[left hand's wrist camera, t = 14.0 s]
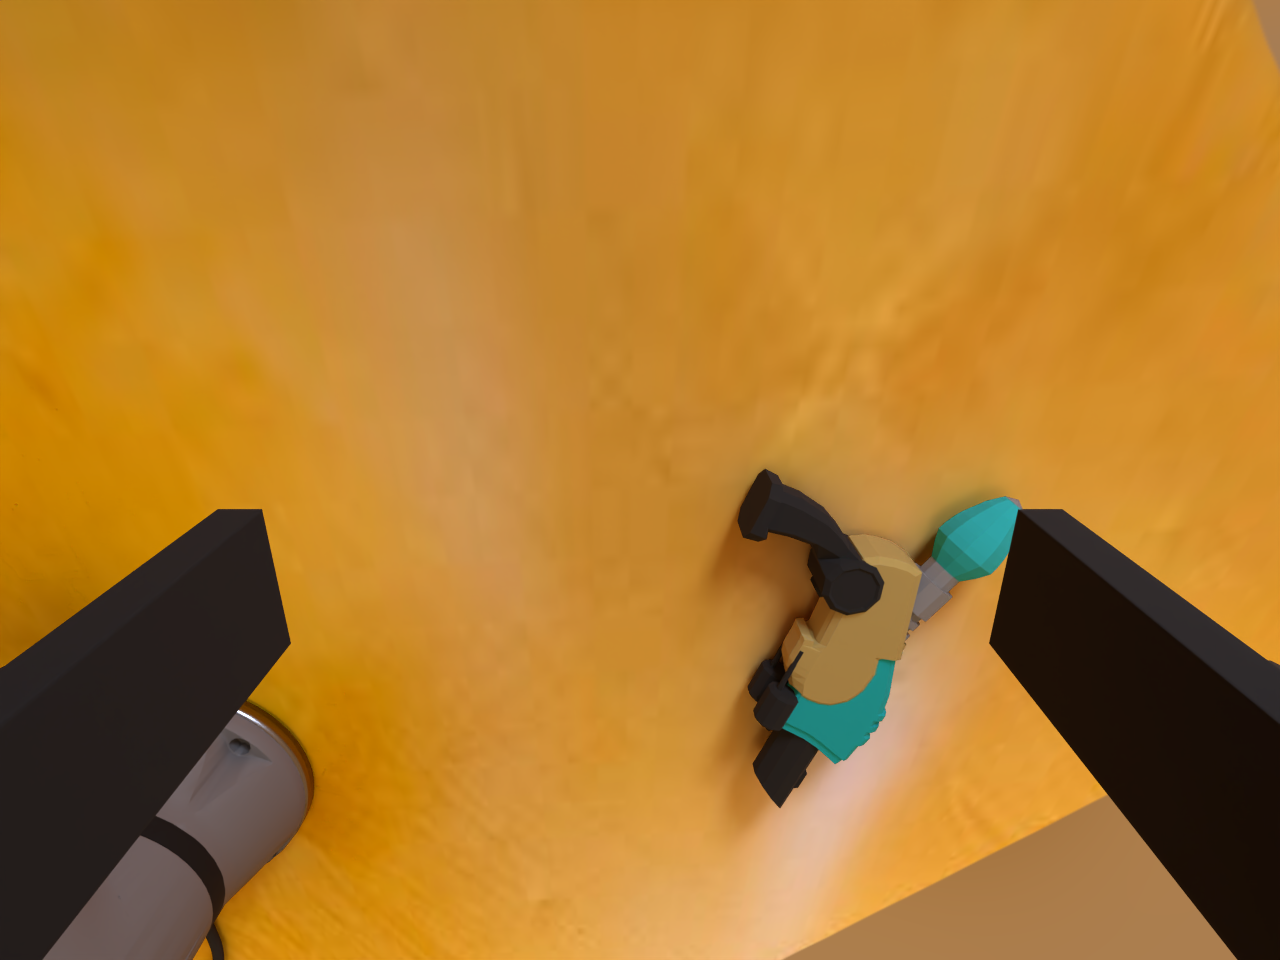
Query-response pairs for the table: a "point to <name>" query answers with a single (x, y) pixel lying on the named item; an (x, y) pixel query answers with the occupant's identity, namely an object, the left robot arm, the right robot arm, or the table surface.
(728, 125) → the table surface
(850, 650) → the toy gun
